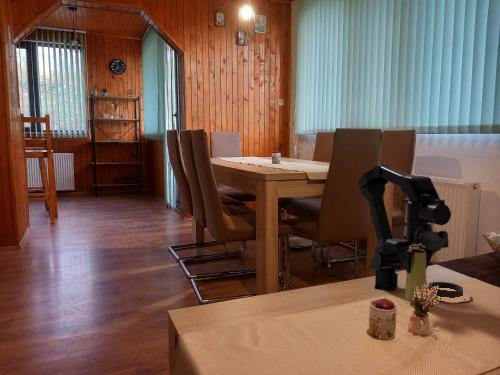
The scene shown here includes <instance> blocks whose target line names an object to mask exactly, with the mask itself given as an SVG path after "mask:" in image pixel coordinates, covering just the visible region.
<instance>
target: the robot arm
mask: <svg viewBox="0 0 500 375" xmlns="http://www.w3.org/2000/svg"><path fill="white" fill-rule="evenodd" d="M432 180H433V179H431V178H430V177H429V176H424V175H423V176H422V175H415V174H410V173H407V172H405V171H403V170H400V169H398V168H395V167H393V166H392V165H390V164H376V165H375V166H374V167H373V168H372V169H369V170H368V171H366V172H364V173H363V174H362V175H361V177H359V179H358V187H359V191H360V192H361V195H362V196H363V197H364V198H365V199H366V200H367V202H368V205H369V209H370V215H371V217H372V222H373V223H372V224H373V227H374V231H375V235H376V240H377V241H376V242H377V243H376V244H375V248H374V254H375V255H374V256H373V257H372V259H371V260H370V264H369V265H370V268H371V269H373V270H374V272H375V277H374V278H375V282H374V286H373V287H374V289H377V290H378V289H380V290H388V291H396V289H397V288H398V285H399V273H398V272H397V270H402V266H403V267H404V270H405V272H406V274H407V273H410V272H411V257H412V255H413V254H414V253H415V252H413V251H411V249H412V248H415V247H418V249H422V250H425V251H426V270H427V269H428V267H429V264H430V263H431V259H432V257H433V256H434V254H436V253H437V252H439V251H441V250H443V249H444V248H445V249H447V248H449V244H450V243H449V233H448V232H447V231H445V230H439V231H434V230H433V226H432V224H434V225H438V226H444V225H447V224H448V223H449V222H450V220H451V217H452V211H451V209H450V208H449V206H448V205H447V204H446V200H445V199H441V197H440V196H439V195H440V194H439V193H438V191H437V189H436V187H435V185H434V183H433V181H432ZM389 182H390V183H392V184H393V185H395V186H398V187H399V188H400V192H402V193H403V194H404V195H405V196H407V197H406V198H404V199H403V200H402V202H403V203H404V204H406V205H407V206H406V208H407V209H406V210H407V211H406V221H404V222H403V226H404V227H406V235H403V239H399V238H394V236H393V232H392V229H391V225H390V221H389V218H388V217H389V216H388V214H387V212H388V211H387V209H386V205H385V200H384V195H385V192H386V185H387V184H388V183H389Z"/></svg>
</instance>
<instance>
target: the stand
mask: <svg viewBox="0 0 500 375" xmlns="http://www.w3.org/2000/svg"><path fill="white" fill-rule="evenodd" d="M437 285H438V286H439V288H450V289H454V290H456V291H447V290H440V289H438V291H437V294H436V295H437V296H440V297H449V298H455V297H460V296H463V290H464V289H463V286H462V285H459V284H456V283H454V282H447V281H432V282H430V283H428V286H429V290H430V289H431V288H432V287H434V286H437ZM440 299H441V298H440ZM464 300H465V299H464Z"/></svg>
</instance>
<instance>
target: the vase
mask: <svg viewBox="0 0 500 375" xmlns="http://www.w3.org/2000/svg"><path fill="white" fill-rule="evenodd" d="M411 251H413V252H415V253H414V254H413V255H412V257H411V272H410V273H407V272H406V276H405V291H404V298H405V299H407V300H409V301H413V298H414V286H413V285H414V284H416V285H417V286H418V287H419V289H420V290H421V289H422V285H423V284H424V283H426V284H427V269H426V251H425V250H422V249H419V248H411ZM413 302H414V301H413Z"/></svg>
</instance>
